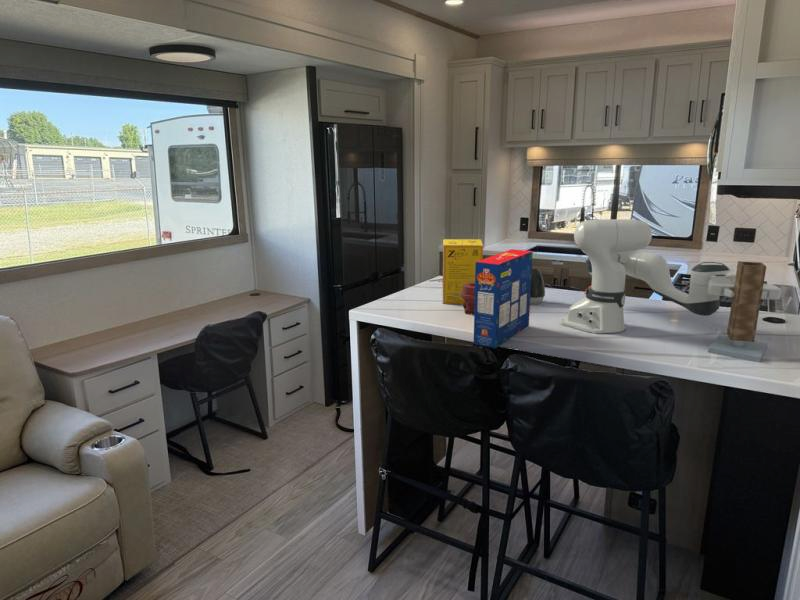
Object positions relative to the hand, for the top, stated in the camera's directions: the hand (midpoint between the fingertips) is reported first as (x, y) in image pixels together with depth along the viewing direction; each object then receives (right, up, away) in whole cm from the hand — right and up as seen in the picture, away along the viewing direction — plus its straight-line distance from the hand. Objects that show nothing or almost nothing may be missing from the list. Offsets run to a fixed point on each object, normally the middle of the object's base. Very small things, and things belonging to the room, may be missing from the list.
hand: (747, 296), depth 172 cm
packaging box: (-81, -1, +70) cm, 107 cm away
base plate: (0, -17, +6) cm, 18 cm away
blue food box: (-72, -14, +23) cm, 77 cm away
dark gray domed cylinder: (-52, -3, +63) cm, 82 cm away
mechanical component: (-79, -6, +50) cm, 93 cm away
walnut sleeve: (0, -13, +5) cm, 14 cm away
